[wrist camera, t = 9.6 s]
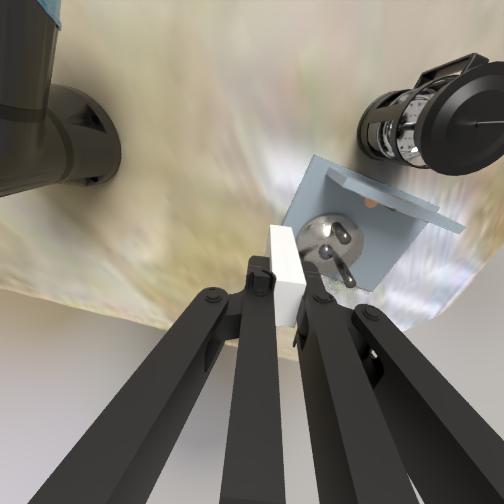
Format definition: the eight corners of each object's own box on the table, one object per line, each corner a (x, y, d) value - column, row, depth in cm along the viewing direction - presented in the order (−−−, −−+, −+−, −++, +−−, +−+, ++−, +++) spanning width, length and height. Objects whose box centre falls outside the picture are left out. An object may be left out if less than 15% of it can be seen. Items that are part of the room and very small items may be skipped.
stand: (268, 252, 47) (268, 283, 37) (313, 154, 38) (329, 162, 28) (370, 288, 49) (394, 327, 40) (435, 205, 40) (489, 229, 30)
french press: (394, 172, 38) (534, 217, 18) (343, 152, 37) (431, 176, 17) (443, 91, 33) (727, 26, 12) (386, 66, 32) (589, -49, 12)
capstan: (321, 279, 47) (329, 303, 41) (282, 243, 44) (284, 262, 38) (373, 242, 43) (391, 263, 36) (333, 199, 39) (346, 212, 33)
